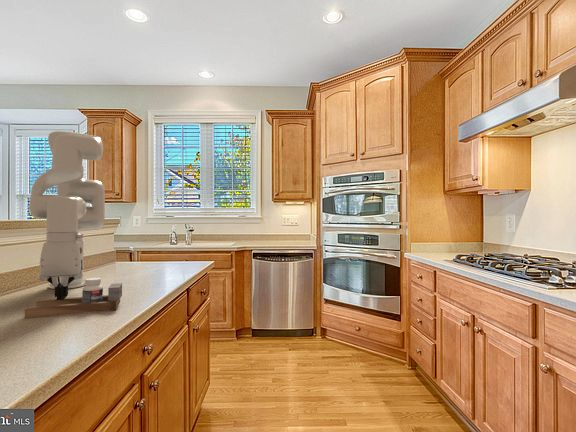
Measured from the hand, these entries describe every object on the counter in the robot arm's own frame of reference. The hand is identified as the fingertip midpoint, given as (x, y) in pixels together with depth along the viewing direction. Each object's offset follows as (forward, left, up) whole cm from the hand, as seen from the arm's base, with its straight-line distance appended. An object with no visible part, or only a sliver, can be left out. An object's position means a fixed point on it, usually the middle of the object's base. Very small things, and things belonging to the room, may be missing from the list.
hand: (61, 298), depth 93 cm
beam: (+1, +4, -3) cm, 5 cm away
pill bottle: (+1, +8, -3) cm, 9 cm away
